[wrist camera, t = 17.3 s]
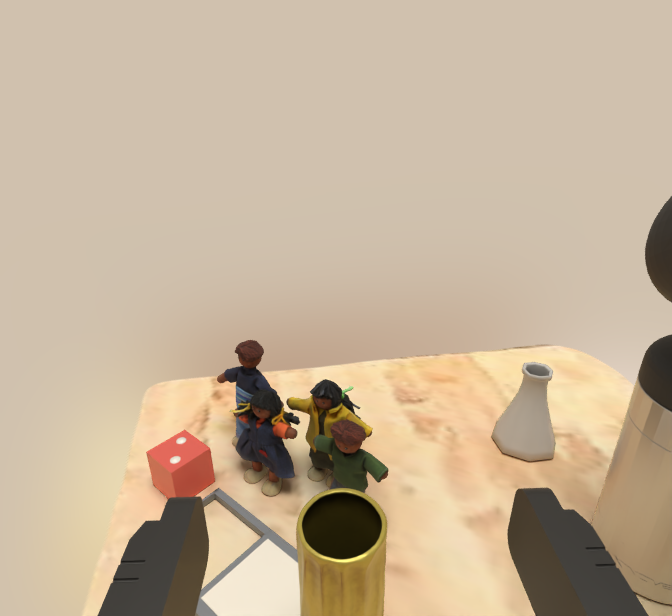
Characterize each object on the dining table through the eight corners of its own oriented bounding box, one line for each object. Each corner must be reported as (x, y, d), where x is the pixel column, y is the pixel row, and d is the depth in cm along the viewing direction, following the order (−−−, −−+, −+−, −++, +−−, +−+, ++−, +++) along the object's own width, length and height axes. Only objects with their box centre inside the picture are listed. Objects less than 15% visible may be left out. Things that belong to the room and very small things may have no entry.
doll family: (182, 467, 52) (163, 364, 47) (231, 419, 60) (219, 325, 54) (380, 541, 44) (386, 425, 38) (408, 475, 51) (416, 370, 46)
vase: (284, 698, 32) (271, 553, 26) (315, 609, 37) (310, 472, 31) (373, 731, 30) (382, 585, 24) (392, 634, 35) (404, 494, 29)
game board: (219, 493, 49) (218, 487, 48) (421, 656, 35) (422, 649, 34) (137, 553, 43) (136, 546, 42) (344, 781, 29) (344, 773, 28)
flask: (495, 459, 53) (508, 384, 49) (487, 419, 60) (498, 350, 56) (563, 467, 52) (582, 391, 48) (547, 425, 59) (564, 355, 54)
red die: (190, 461, 53) (184, 429, 51) (215, 481, 50) (210, 447, 48) (153, 485, 50) (146, 451, 48) (177, 507, 47) (171, 472, 45)
